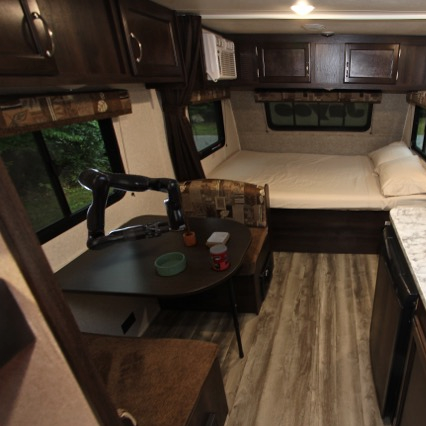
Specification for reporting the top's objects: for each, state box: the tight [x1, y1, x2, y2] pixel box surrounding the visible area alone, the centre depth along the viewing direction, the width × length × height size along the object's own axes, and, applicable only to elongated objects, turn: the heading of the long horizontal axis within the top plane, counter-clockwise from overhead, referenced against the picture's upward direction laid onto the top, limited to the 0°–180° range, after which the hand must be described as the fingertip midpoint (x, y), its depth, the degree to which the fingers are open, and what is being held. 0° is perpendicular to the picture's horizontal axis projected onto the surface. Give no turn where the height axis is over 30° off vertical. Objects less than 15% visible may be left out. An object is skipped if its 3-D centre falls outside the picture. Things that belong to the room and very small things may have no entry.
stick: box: [183, 213, 192, 236], centre depth 165 cm, size 2×2×18 cm
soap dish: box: [205, 231, 230, 249], centre depth 168 cm, size 12×10×5 cm
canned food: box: [209, 244, 230, 272], centre depth 147 cm, size 8×8×11 cm
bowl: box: [154, 251, 187, 277], centre depth 147 cm, size 14×14×5 cm
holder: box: [183, 231, 197, 247], centre depth 168 cm, size 6×6×6 cm
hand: (168, 226), depth 159 cm, fingers open, 8 cm apart
